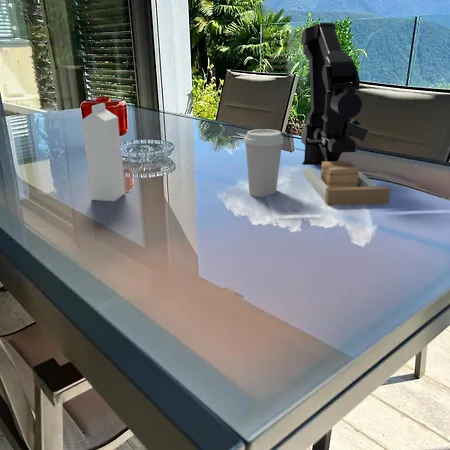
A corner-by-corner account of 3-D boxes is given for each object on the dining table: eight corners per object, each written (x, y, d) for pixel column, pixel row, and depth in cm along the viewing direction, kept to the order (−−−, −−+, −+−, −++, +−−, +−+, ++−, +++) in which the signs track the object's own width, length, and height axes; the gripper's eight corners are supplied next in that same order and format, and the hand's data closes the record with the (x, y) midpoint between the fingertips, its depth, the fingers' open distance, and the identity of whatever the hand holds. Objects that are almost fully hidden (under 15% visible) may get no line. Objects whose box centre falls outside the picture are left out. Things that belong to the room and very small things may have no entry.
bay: (303, 177, 125) (303, 163, 124) (353, 175, 126) (354, 161, 125) (327, 207, 103) (328, 190, 102) (387, 205, 104) (390, 188, 103)
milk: (91, 200, 110) (78, 105, 101) (103, 192, 115) (92, 102, 107) (114, 201, 108) (103, 106, 100) (125, 193, 114) (116, 102, 105)
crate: (320, 180, 121) (321, 161, 119) (346, 179, 121) (348, 160, 119) (328, 189, 113) (330, 169, 111) (357, 188, 114) (359, 169, 112)
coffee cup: (285, 189, 116) (288, 129, 110) (277, 201, 107) (279, 137, 102) (249, 186, 119) (250, 127, 113) (238, 197, 110) (238, 135, 105)
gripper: (380, 117, 109) (373, 180, 115) (354, 106, 126) (349, 162, 132) (334, 118, 108) (329, 181, 114) (315, 107, 125) (311, 163, 131)
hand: (331, 171), depth 123 cm, fingers closed
